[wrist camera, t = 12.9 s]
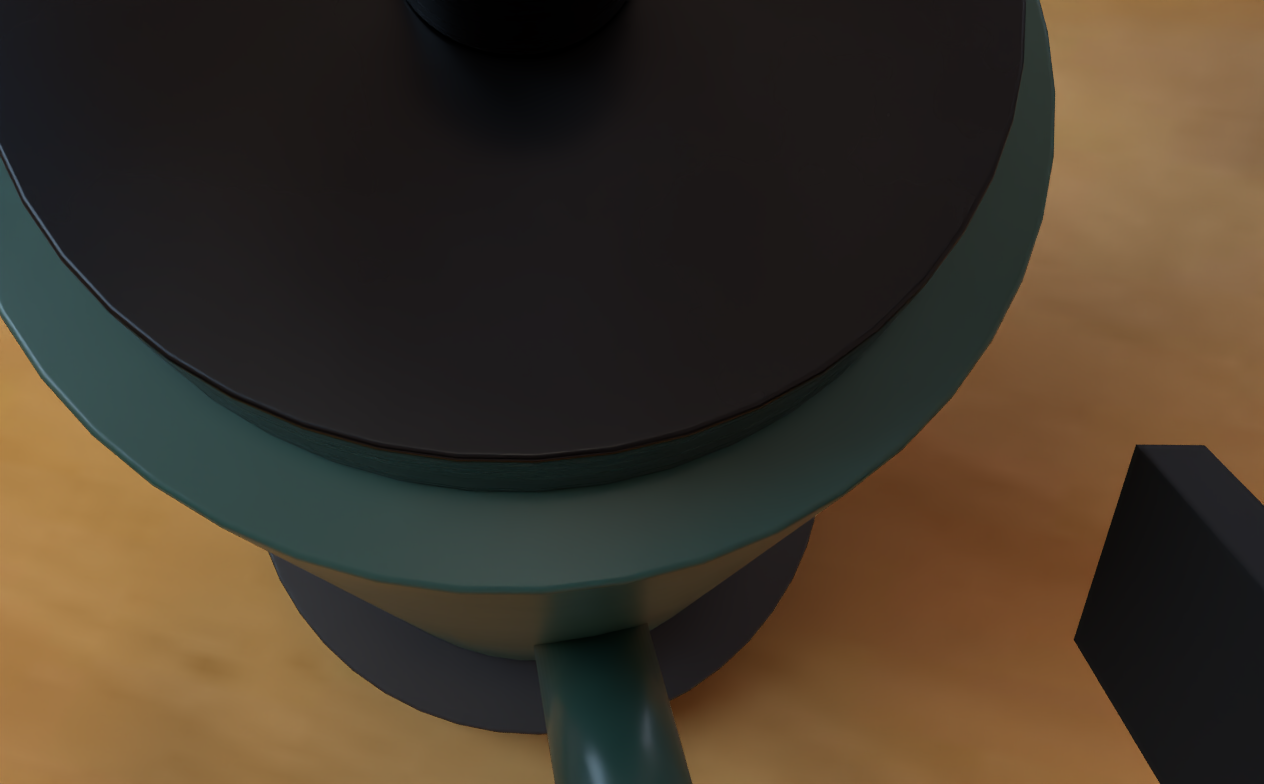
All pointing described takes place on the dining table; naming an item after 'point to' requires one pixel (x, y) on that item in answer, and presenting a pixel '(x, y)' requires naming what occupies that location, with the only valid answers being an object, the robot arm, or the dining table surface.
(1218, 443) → the dining table surface
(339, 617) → the kettle base
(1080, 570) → the dining table surface
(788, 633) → the dining table surface
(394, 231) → the kettle
